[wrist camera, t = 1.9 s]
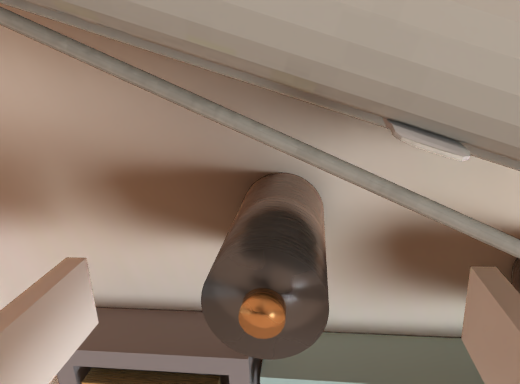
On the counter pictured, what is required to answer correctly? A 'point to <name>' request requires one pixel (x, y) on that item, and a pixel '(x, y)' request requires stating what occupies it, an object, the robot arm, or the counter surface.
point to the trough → (375, 361)
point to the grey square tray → (158, 347)
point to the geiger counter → (330, 71)
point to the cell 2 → (516, 275)
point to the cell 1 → (271, 272)
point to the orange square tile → (146, 377)
